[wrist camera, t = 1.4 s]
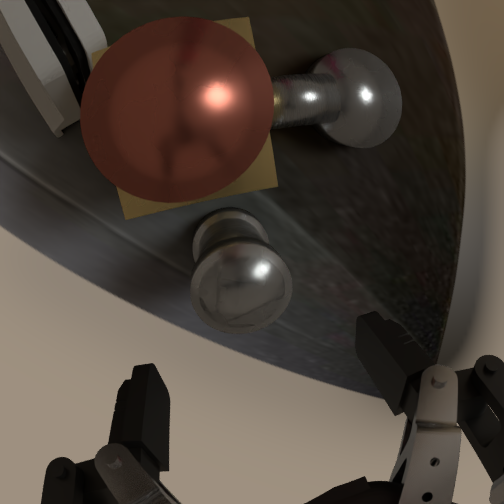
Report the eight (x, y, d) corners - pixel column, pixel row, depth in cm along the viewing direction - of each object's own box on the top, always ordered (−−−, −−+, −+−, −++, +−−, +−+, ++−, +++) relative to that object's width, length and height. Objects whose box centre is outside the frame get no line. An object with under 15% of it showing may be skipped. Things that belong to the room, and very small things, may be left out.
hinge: (-14, 13, 10) (-45, -50, 1) (32, -19, 11) (20, -91, 2) (61, 142, 16) (21, 102, 8) (114, 101, 18) (119, 33, 9)
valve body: (127, 76, 16) (55, 31, 6) (378, 49, 17) (485, 24, 7) (150, 189, 19) (100, 253, 9) (391, 148, 20) (501, 176, 11)
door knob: (185, 216, 20) (178, 258, 14) (259, 200, 21) (286, 235, 14) (202, 281, 22) (204, 342, 16) (269, 266, 23) (296, 321, 16)
